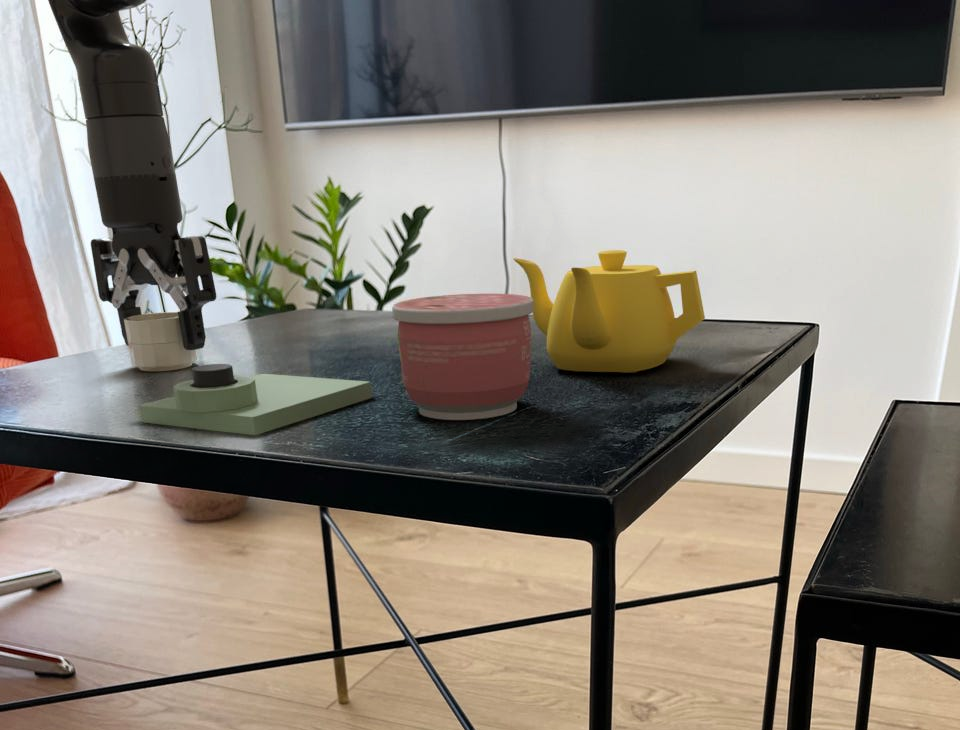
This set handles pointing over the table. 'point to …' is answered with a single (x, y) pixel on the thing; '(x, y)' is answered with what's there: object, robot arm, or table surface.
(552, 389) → the table surface
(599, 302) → the teapot
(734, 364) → the table surface
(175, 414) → the scale
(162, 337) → the cream cup
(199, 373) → the button
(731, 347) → the table surface
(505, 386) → the container
